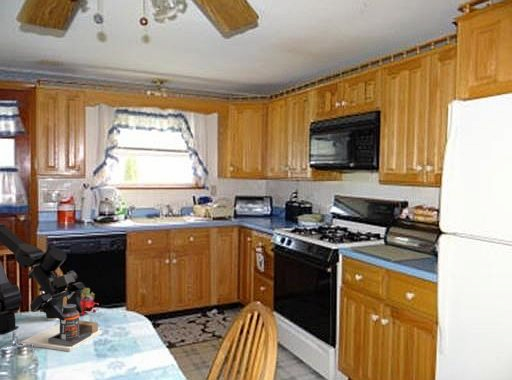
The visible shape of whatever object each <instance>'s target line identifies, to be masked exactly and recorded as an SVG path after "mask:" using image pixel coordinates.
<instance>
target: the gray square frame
mask: <svg viewBox="0 0 512 380" xmlns="http://www.w3.org/2000/svg"><path fill="white" fill-rule="evenodd" d="M79 335H80V336H79V337H77V338H76V339H74V340H72V341H71V340H63V339H60V333H59V334H57V335H55V336H52V337H50V338H48V343H51V344H58V345H65V346H74V345H76V344H77V343H79V342H81V341H83V340H85V339H86V338H88V337H90V336H91V331H83V330H79Z"/></svg>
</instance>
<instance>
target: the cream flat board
mask: <svg viewBox="0 0 512 380" xmlns="http://www.w3.org/2000/svg"><path fill="white" fill-rule="evenodd" d="M59 333H60V324H57V325H54V326H52V327H49V328H47V329H45V330H43V331H42V332H39V333H37V334H34V335H32V336H31V337H28V338H26V339H24V340H22V341H21V344H22V343H30V344H33V345H34V346H33V347H38V348H43V349H51V350H56V351H57V350H58V351H64V352H72V351H73V350H75V349H77V348H78V347H81V346H82V345H84V344H86V343H87V342H90V341H91V340H93V339H95V338H96V337H99V336H100V335H101V334H103V329H98V331H97V332H95V333H94V334H91V336H90V337H88V338H86V339H85V340H83V341H81V342H79V343H77V344H76V345H74V346H65V345H58V344H51V343H48V338H50V337H52V336H55V335H57V334H59ZM79 336H80V335H79Z"/></svg>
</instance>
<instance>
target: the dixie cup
mask: <svg viewBox="0 0 512 380" xmlns="http://www.w3.org/2000/svg"><path fill="white" fill-rule="evenodd" d="M41 293H42V294H44V291H41ZM64 298H65V297H63V298H60V299H57V300H56V301H57V305H58V307H59V308H60V310H61V312H63V306H64ZM45 317H46V319H47V321H48V322H54V321H60V319H58V318H56V317H54V316H52V315H49V314H47V313H45Z"/></svg>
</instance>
